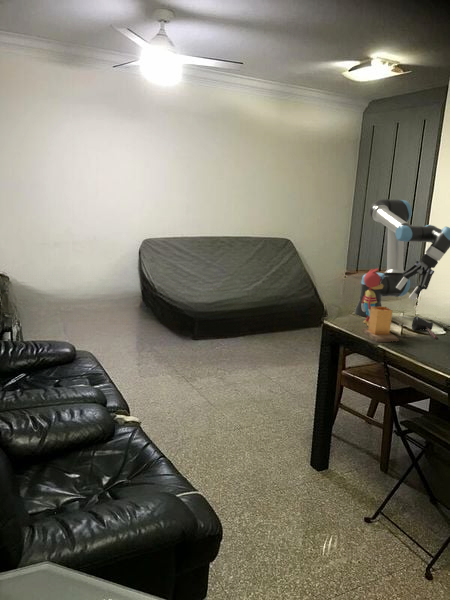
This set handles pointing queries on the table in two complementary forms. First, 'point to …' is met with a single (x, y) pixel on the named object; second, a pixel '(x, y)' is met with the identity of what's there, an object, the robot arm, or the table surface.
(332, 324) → the table surface
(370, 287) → the toy
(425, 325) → the pink handled mallet
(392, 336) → the post
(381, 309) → the frame
